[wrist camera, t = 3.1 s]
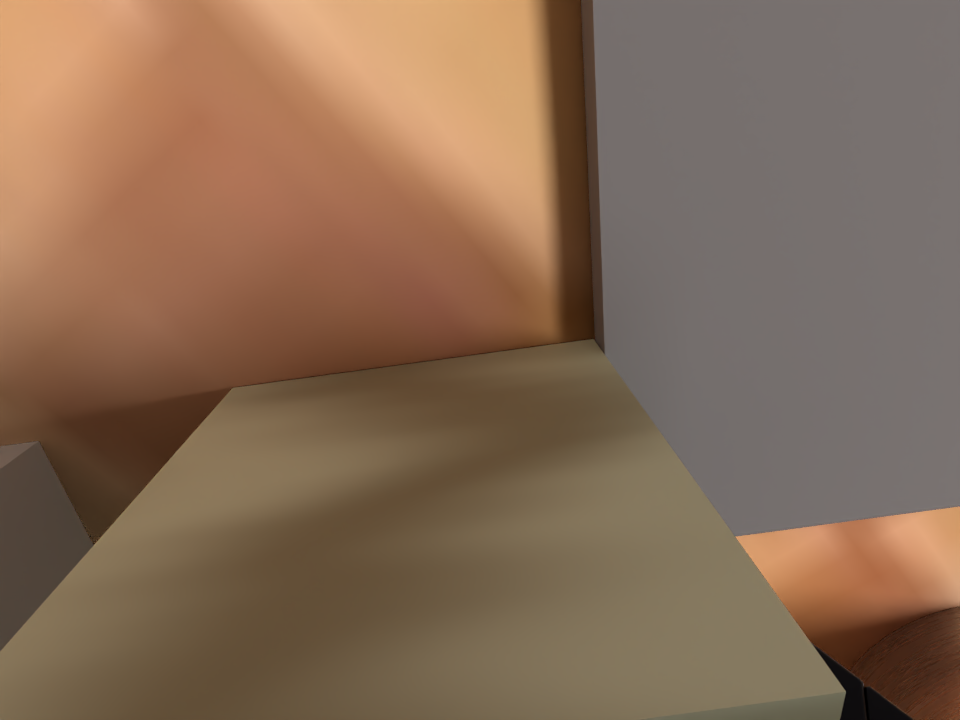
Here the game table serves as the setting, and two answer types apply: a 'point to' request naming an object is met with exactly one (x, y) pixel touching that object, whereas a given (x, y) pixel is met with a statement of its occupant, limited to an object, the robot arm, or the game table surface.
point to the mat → (783, 246)
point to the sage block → (421, 566)
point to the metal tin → (918, 667)
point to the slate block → (33, 534)
